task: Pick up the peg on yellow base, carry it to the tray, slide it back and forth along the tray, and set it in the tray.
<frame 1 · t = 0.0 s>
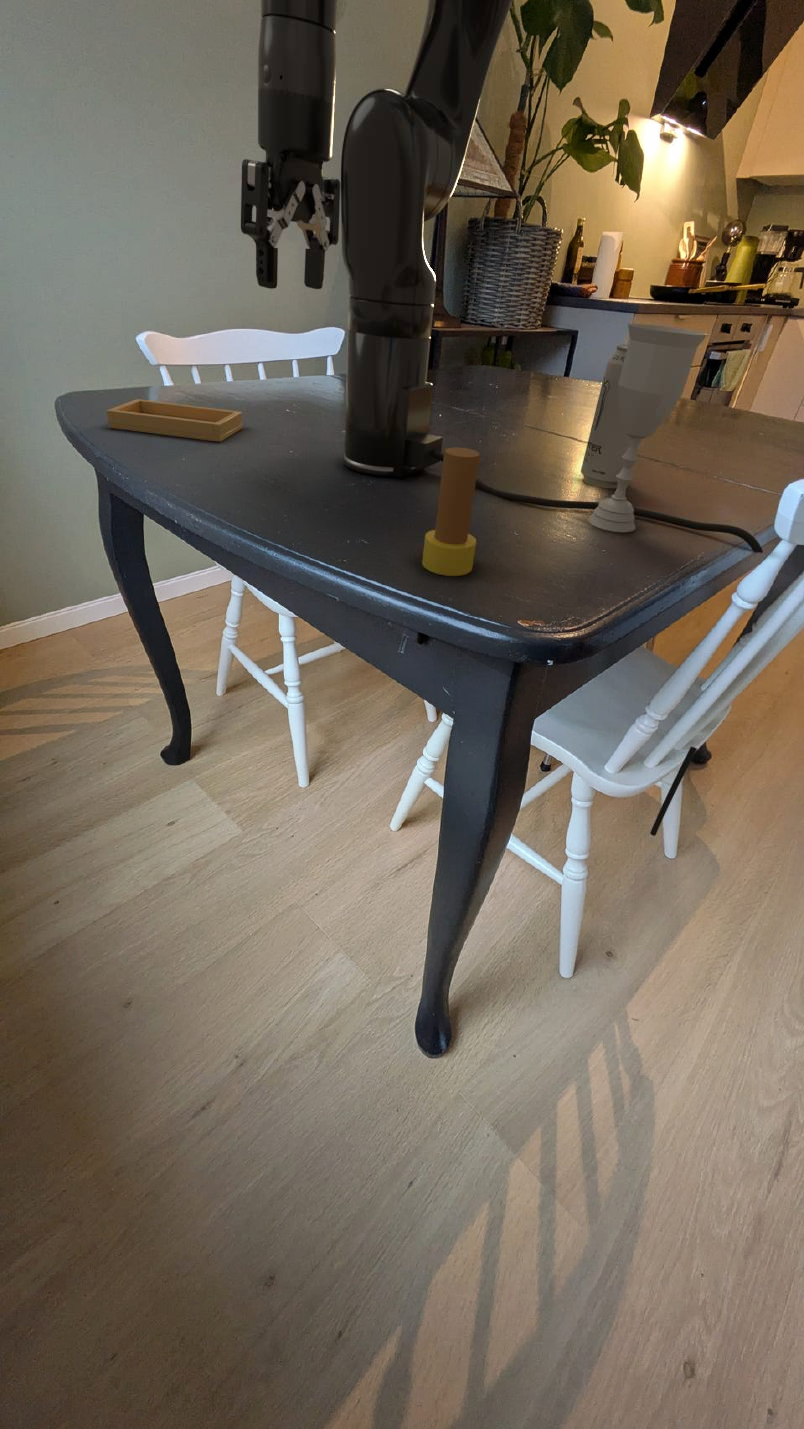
hand: (291, 287, 72), 17 cm above the table, tool pointing down, fingers open, 8 cm apart
chalice: (610, 525, 68), on the table
tray: (178, 428, 85), on the table
peg on yellow base: (447, 565, 55), on the table
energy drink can: (602, 484, 81), on the table
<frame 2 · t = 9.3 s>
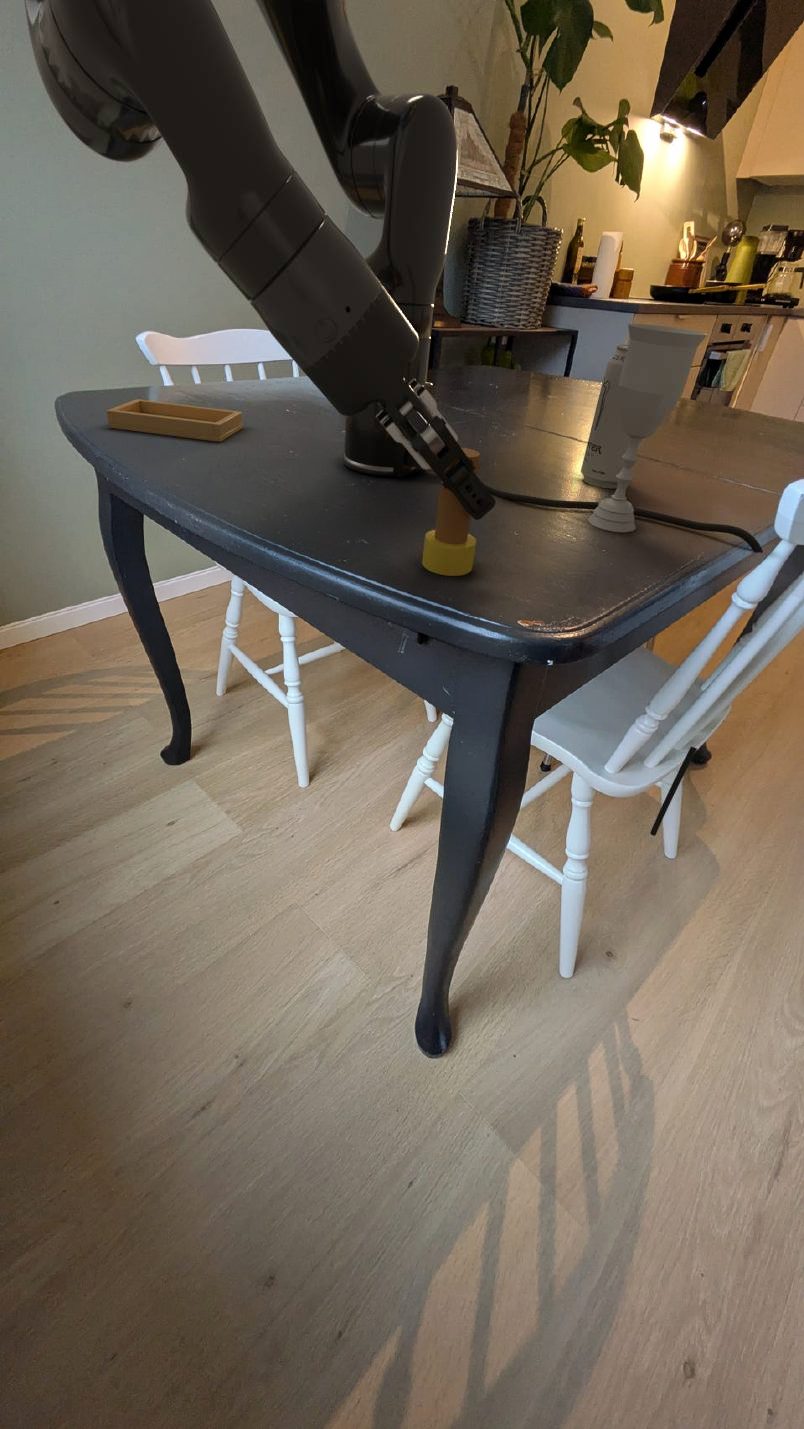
hand: (478, 503, 52), 5 cm above the table, tool tilted 45°, fingers closed on peg on yellow base, 3 cm apart
peg on yellow base: (447, 565, 55), on the table, touching gripper
everything else where it was.
when the fingers open (6 cm above the table, at t = 28.1 s): peg on yellow base stays where it is, resting on tray.
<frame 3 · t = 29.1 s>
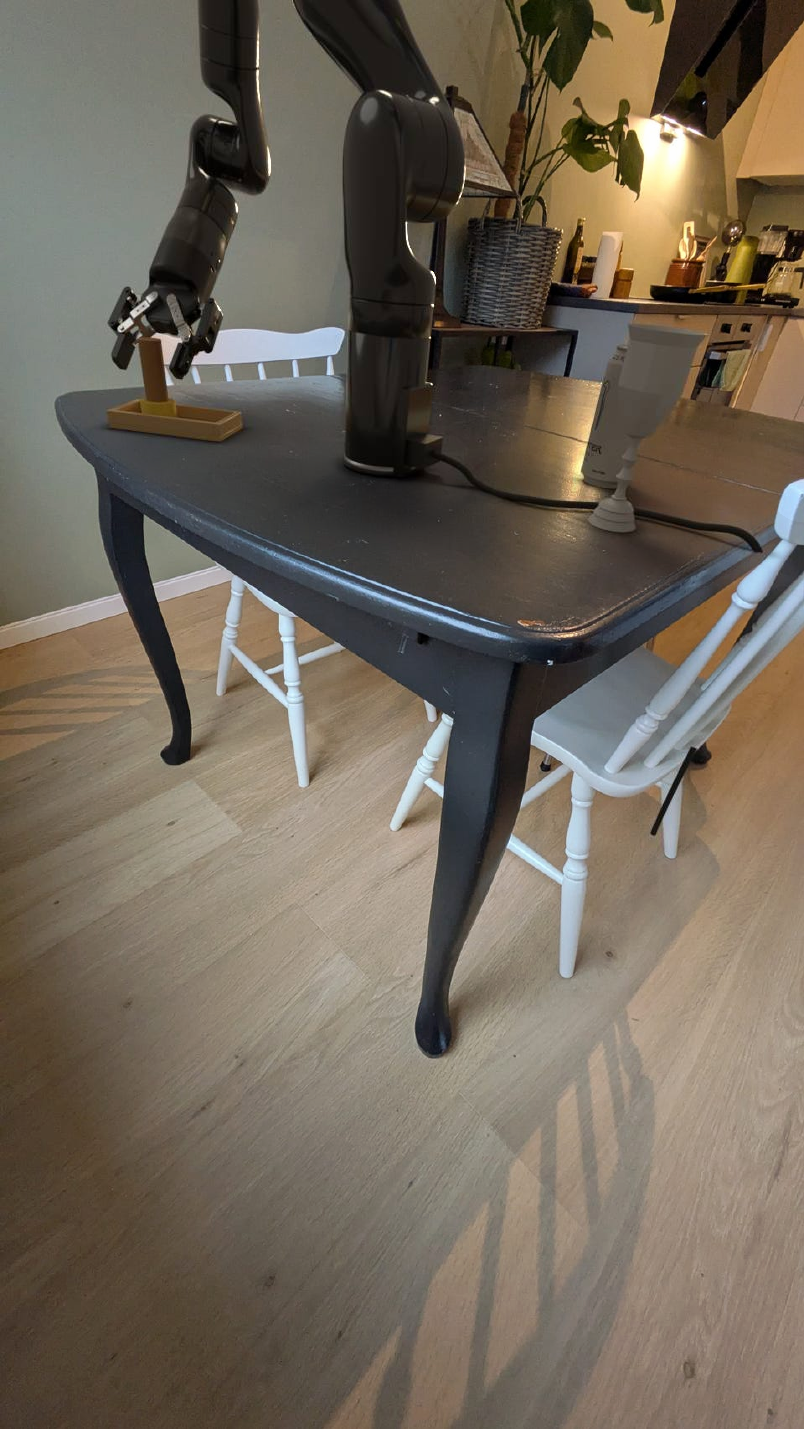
hand: (146, 370, 80), 7 cm above the table, tool tilted 45°, fingers open, 8 cm apart
peg on yellow base: (160, 420, 85), point 1 cm above the table, touching tray
everything else where it was.
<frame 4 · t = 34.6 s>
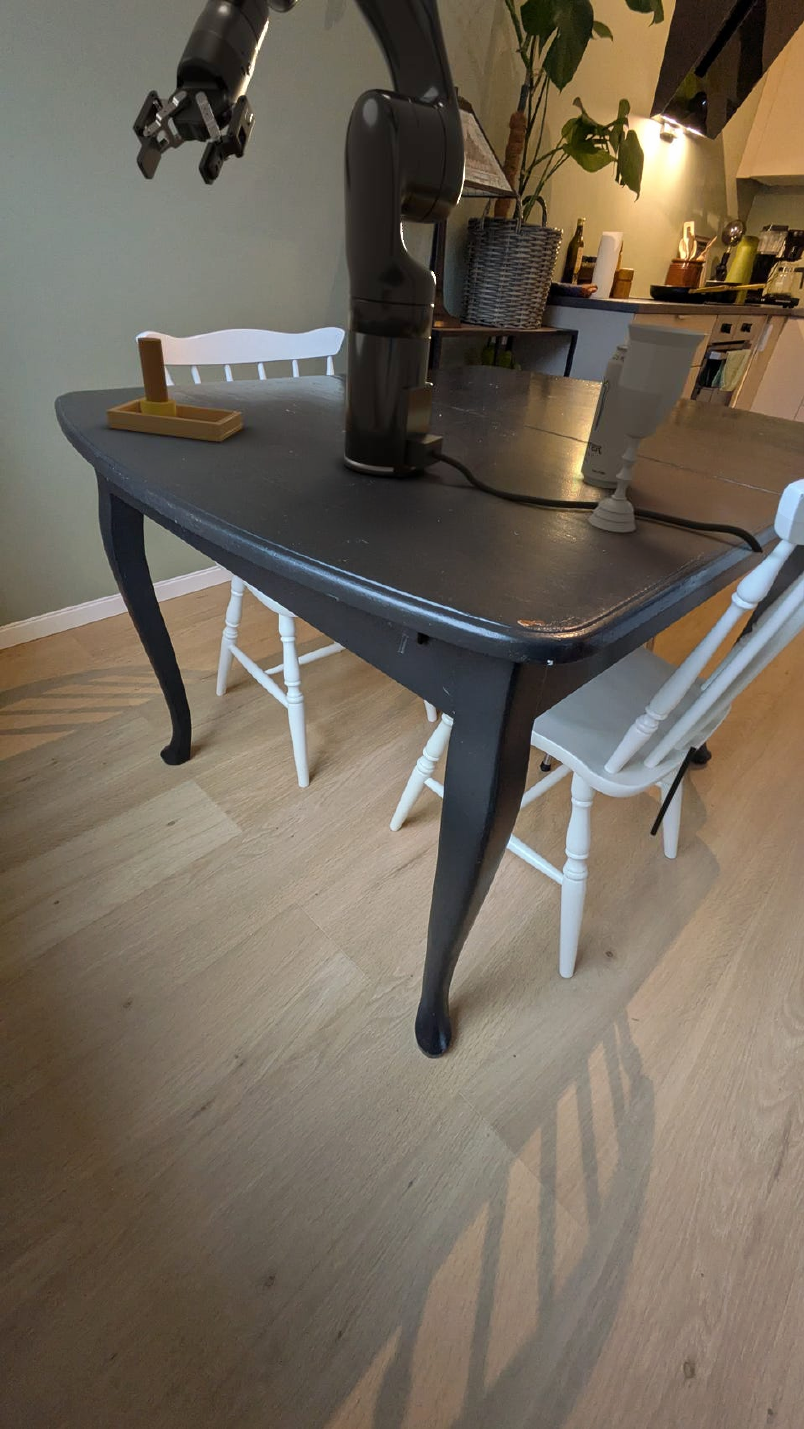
hand: (174, 175, 76), 27 cm above the table, tool tilted 45°, fingers open, 8 cm apart
nothing on the table moved.
at the end: peg on yellow base inside the target area in the tray (2.7 cm from its centre), point 0.6 cm above the tray's base; peg on yellow base tilted 0°; the gripper is holding nothing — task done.
